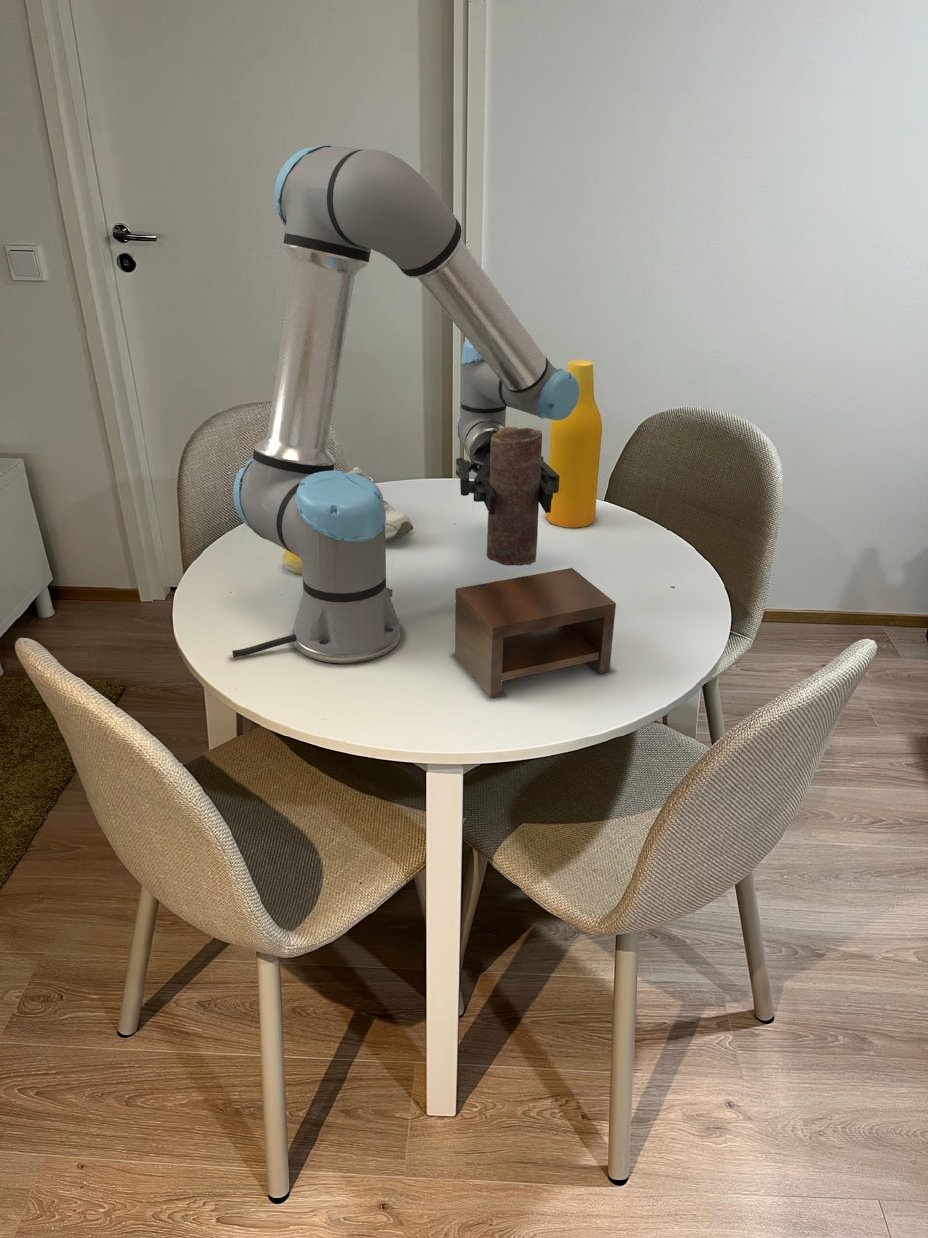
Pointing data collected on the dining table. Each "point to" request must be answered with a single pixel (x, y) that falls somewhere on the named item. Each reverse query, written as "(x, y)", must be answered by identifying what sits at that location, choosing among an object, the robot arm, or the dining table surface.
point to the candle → (514, 496)
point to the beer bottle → (576, 455)
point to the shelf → (532, 626)
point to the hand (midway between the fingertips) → (520, 504)
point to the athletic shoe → (390, 515)
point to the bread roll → (292, 562)
